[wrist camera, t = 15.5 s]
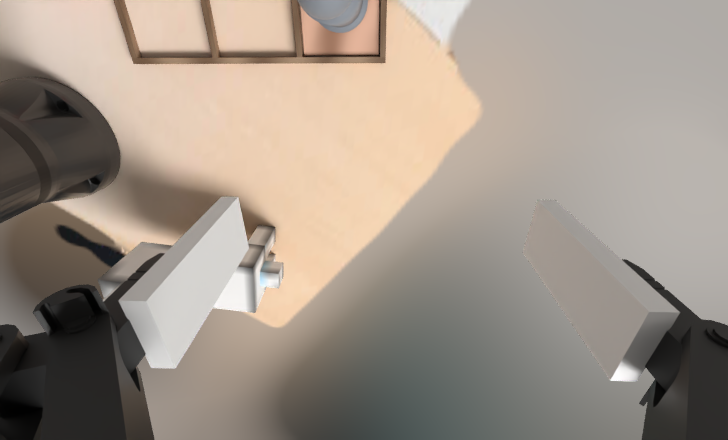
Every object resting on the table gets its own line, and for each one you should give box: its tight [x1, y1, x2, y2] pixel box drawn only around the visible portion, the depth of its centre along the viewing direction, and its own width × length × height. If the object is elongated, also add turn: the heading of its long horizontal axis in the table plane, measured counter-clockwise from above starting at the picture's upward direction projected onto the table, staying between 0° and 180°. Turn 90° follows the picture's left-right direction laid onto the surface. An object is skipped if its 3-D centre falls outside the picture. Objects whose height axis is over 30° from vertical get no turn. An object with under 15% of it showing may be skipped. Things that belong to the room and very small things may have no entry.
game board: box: [114, 0, 387, 64], centre depth 35 cm, size 29×12×1 cm, turn 90°
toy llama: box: [98, 225, 283, 313], centre depth 42 cm, size 8×18×20 cm, turn 83°
